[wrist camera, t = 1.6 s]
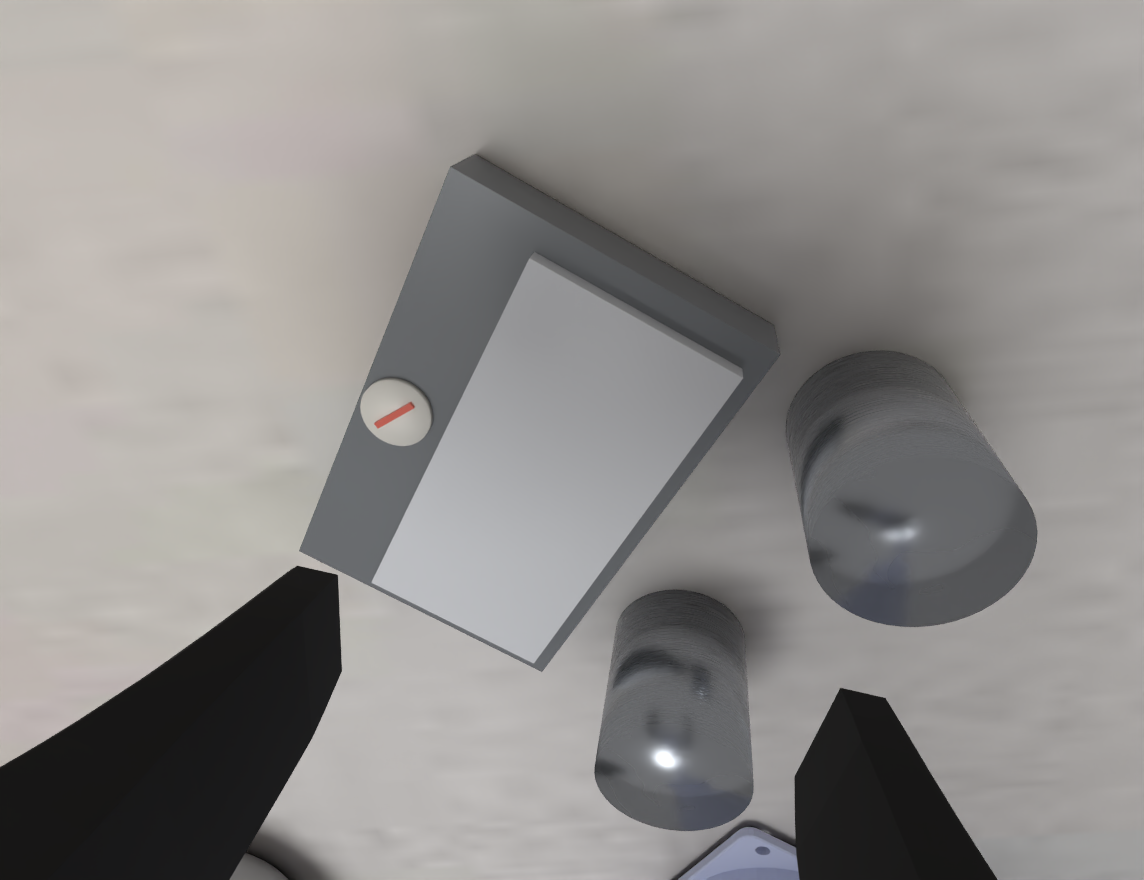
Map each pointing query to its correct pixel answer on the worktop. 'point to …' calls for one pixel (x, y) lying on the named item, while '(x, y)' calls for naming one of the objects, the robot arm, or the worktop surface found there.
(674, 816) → the cylinder
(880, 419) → the cylinder
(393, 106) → the worktop surface
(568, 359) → the scale
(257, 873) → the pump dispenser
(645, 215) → the worktop surface
